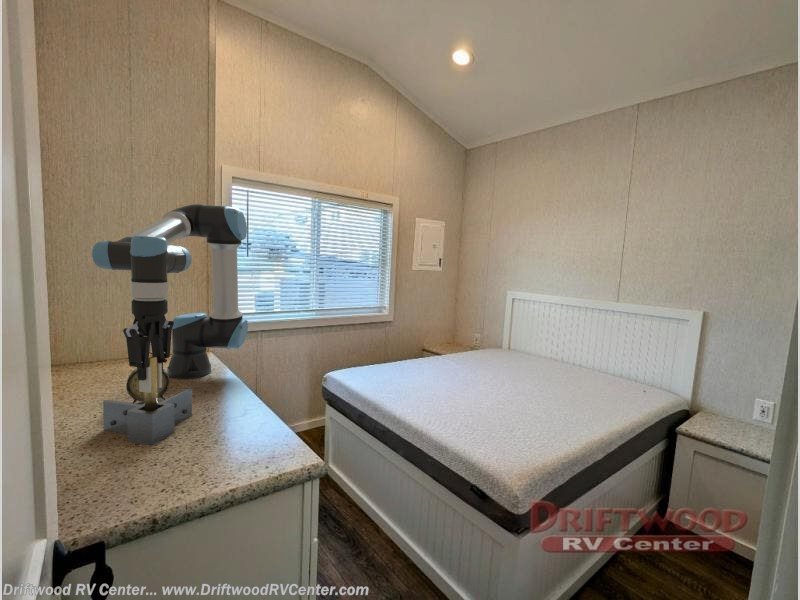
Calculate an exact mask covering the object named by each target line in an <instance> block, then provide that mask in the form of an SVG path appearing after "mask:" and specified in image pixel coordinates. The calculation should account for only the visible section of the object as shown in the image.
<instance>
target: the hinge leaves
mask: <svg viewBox="0 0 800 600" xmlns="http://www.w3.org/2000/svg"><path fill="white" fill-rule="evenodd" d="M165 399H166V400H163V399H162V401H158V409H156V410H154V411H152V412H151V411H145V402H143V403H141V404H140V403H133V402H126V401H119V400H113V399H106V400H103V401H102V406H103V407H102V408H103V409H102V410H103V430H104V431H109V432H114V433H119V434H126V435H127V441H128V442H131V443H136V444H142V445H149V446H154V445H156V444H158V443H159V442H161V441H162V440H164V439H166V438H168V437H169V436H171V435H172V434H174V433H175V426H176V425H178V424H179V423H181V422H183V421H185V420H186V419H188V418H189V417H191V416H193V389H192V388H186V389H185V390H183V391H181V392H178V393H176V394H174V395H172V396H170V397H168V398H165Z"/></svg>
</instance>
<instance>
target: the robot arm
mask: <svg viewBox="0 0 800 600" xmlns="http://www.w3.org/2000/svg"><path fill="white" fill-rule="evenodd" d="M247 233H248V226H247V220H246V217H245V215H244V213H243V212H242V210H241V209H240V208H238V207H233V206H228V205H212V204H211V205H210V204H199V203H195V204H187V205H183V206H180V207H178V208H175V209H172V210H170V211H168V212H166V213H165V214H163V216H162V217H161V219H158V220H157V221H155V222H153V223H151V224H149V225H147V226H145V227H143V228H140V229H139V230H136V231H135V232H133V233H131V234H129V235H127V236H124V237H123V238H121V239H118V240H116V241H115V240H113V241H112V240H100V241H98V242H96V243H95V244H94V245H93V247H92V250H91V257H92V261H93V264H95V266H96V267H98V268H100V269H105V270H112V271H130V272H131V273H130V275H131V276H130V278H131V279H130V281H131V285H130V286H131V297H132V298H133V299H132V300H131V314H132V315H133V316H134V320H133V322H132V325H131V326H130V327H129V328H127V327H126V328H124V329H122V333H123V334H124V337H125V338H126V339H125V340H126V348H127V358H128V365H129V367H133V368H137V374H138V375H137V376H138V380H139V391H140V392H147V393H149V392H151V367H148V361H149V356H150V353H149V352H151V353H152V354H151V356H157V388H161V387H162V373H163V369H164V363H165V364H166V363H167V362H168V358H170V356H171V358H170V359H169V360H170V361H169V363H168V367H166V368H167V370H166V372H167V374H168V378H172V379H194V378H199V377H204V376H207V375H209V374H210V373H211V372H212V364H211V362H210V358H209V355H208V353H207V352H208V351H207V349H208V348H209V349H211V348H213V349H227V350H230V349H240V348H242V346H243V345H244V343H245V342H246V339H247V336H248V332H249V331H248V330H249V323H248V320H247V319H245V318H244V317H243V312H241V311H240V310H239V290H238V289H239V284H238V282H239V281H238V279H239V278H238V274H239V273H238V249H239V247H240V246H241V245H242V241H243V240H245V239H246V238H247ZM187 237H200V238H206V244H207V245H208V246H209V247H210V248H211V263H212V264H211V267H212V297H213V301H212V302H213V311H211V313H209V317H208V315H207V313H205V312H194V313H186V314H185V313H184V314H181V315H177V316H175V317H174V318H173V319H172V320H169V319H168V320H167V318H166V316H165V315H166V314H168V300H167V299H166V298H168V297H169V294H168V293H169V292H168V274H174V273H175V274H179V273H182V272H185V271H186V270H188V269H189V268H190V266H191V264H192V259H193V258H192V255H191V253H190V251H189V250H188V249H187V248H186V247H184V246H180V245H177V244H172V243H173V242H175V241H176V240H178V239H179V240H184V239H185V238H187ZM170 244H171V245H170ZM171 345H172V346H171ZM171 347H172V354H171ZM150 348H151V349H150ZM150 350H151V351H150Z"/></svg>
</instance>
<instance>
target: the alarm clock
mask: <svg viewBox="0 0 800 600" xmlns="http://www.w3.org/2000/svg"><path fill="white" fill-rule="evenodd" d="M150 354H151V355H152V351H149V355H150ZM137 375H138V374H137V367H135V369H134V370H133V371H132V372H130V374H129V375H128V377H127V380H126V387H125V388H126V392H127V394H128V395H129V397H131V398H132V399H133V401H132V403H134V404H136V403H137V402H142V403H145V394H144V392H140V391H139V380H138V376H137ZM169 379H170V377H169V376H168V374H167V370H166V369H165V368H163V373H162V387H161V388H157V389H158V399H159V398H161V399H162V401H163V400H166V399H167V398H165V397H164V394H165V393H166V392H167V390H168V388H169V386H170V380H169Z"/></svg>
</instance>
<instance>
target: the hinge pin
mask: <svg viewBox="0 0 800 600" xmlns="http://www.w3.org/2000/svg"><path fill="white" fill-rule="evenodd" d="M148 367H151V392H149V393H147V392H144V394H145V402H144V403H145V411H151V412H152V411H154V410H156V409H158V402H159V401H158V399H159V398H158V389H157V356H152V355H149V361H148Z"/></svg>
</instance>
